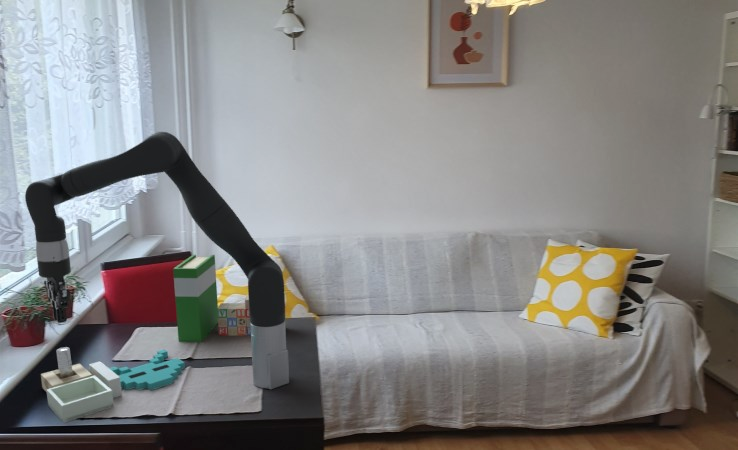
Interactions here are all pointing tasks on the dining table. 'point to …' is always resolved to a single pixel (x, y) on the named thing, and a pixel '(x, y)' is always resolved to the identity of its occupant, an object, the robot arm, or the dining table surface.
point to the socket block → (54, 380)
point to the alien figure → (150, 373)
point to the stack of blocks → (234, 318)
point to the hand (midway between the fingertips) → (60, 320)
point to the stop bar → (106, 377)
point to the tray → (79, 398)
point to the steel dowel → (64, 362)
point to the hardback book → (195, 298)
